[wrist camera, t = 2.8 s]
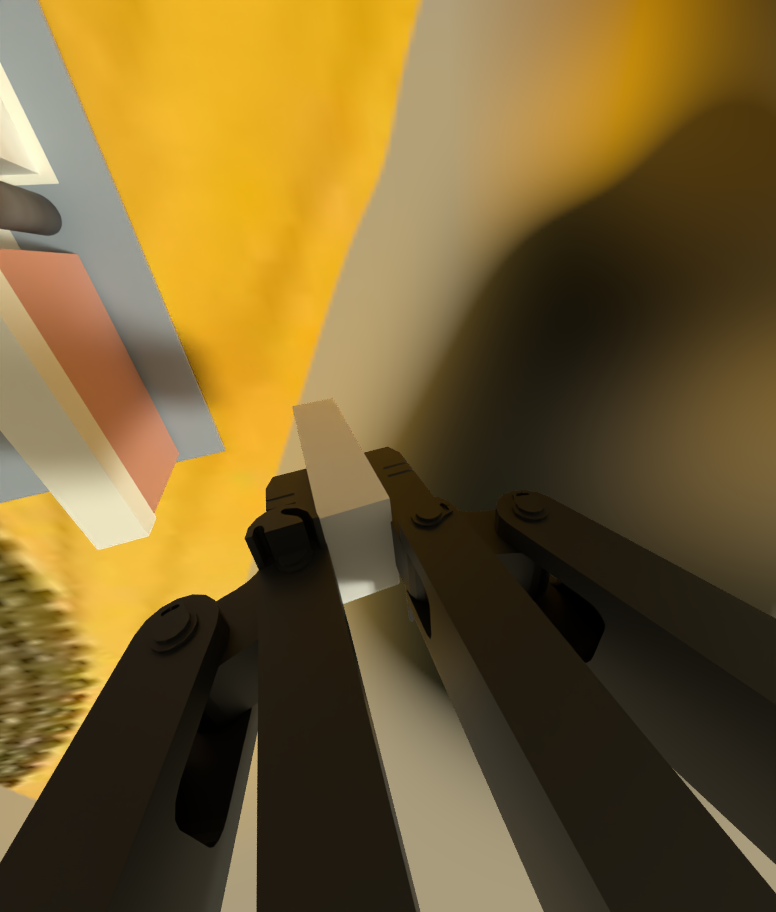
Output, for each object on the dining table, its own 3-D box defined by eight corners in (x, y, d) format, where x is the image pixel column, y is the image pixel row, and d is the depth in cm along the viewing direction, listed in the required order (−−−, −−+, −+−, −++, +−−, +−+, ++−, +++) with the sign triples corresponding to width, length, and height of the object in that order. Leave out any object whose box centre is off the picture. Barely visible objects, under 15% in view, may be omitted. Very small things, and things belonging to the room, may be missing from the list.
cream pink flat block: (31, 258, 11) (-147, 250, 6) (82, 253, 11) (-49, 243, 7) (148, 460, 15) (97, 550, 11) (182, 453, 16) (148, 536, 11)
